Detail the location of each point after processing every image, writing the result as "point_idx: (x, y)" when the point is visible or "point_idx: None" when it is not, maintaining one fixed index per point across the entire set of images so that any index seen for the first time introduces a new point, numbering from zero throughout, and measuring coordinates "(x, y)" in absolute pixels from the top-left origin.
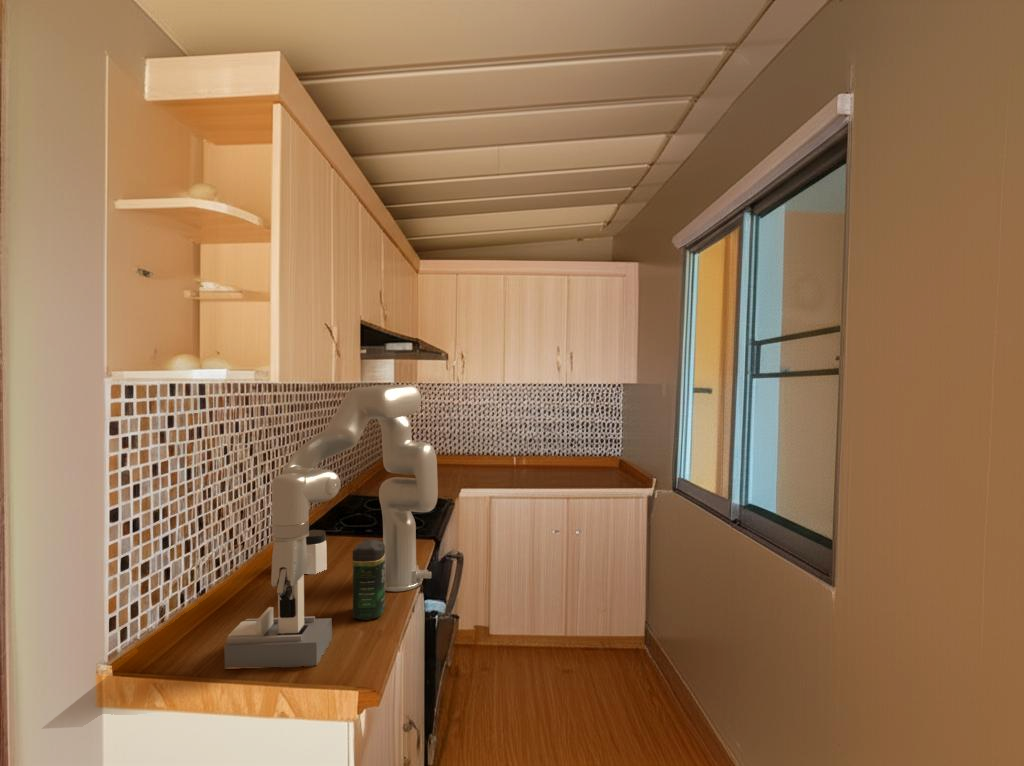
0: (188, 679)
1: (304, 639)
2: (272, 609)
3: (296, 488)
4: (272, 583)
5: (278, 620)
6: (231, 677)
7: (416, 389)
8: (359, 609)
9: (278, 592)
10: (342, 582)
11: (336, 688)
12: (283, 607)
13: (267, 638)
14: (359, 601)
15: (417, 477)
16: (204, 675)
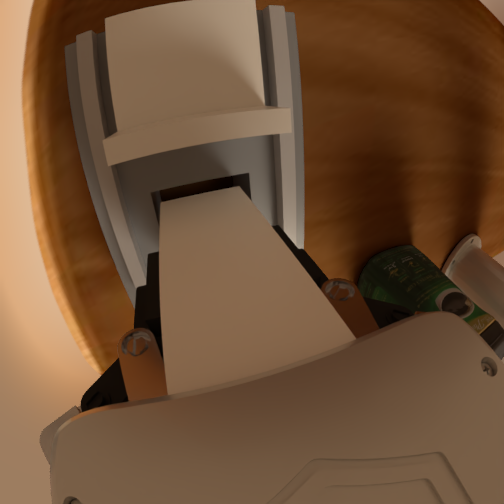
0: (49, 10)
1: None
2: (276, 132)
3: None
4: (51, 456)
5: (160, 226)
6: (55, 108)
7: None
8: (373, 286)
9: (45, 438)
10: (491, 167)
11: (91, 349)
12: (136, 315)
13: (103, 194)
14: (385, 297)
15: None
16: (64, 29)
